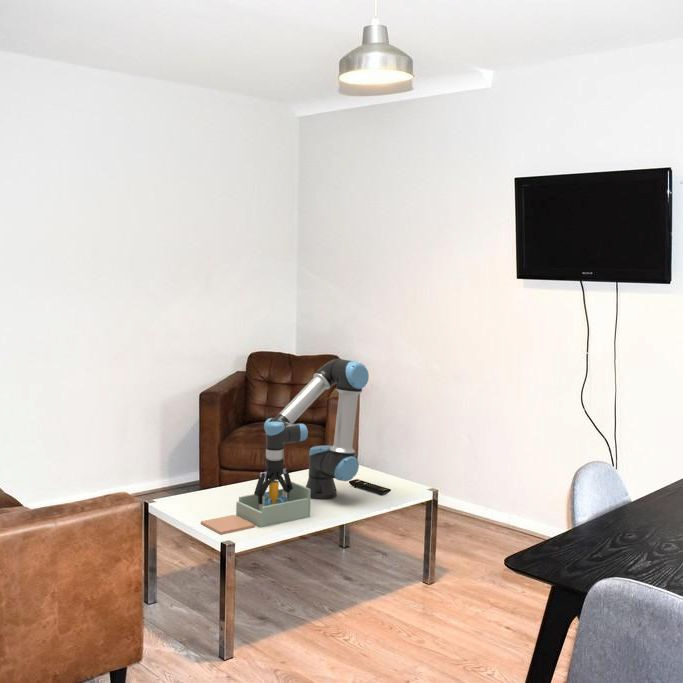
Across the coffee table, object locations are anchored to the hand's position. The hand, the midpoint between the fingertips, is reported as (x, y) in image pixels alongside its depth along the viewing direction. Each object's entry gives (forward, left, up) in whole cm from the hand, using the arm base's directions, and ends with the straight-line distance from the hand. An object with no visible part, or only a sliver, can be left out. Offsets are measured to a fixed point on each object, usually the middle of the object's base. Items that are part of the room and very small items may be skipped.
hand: (273, 508), depth 349 cm
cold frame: (0, 0, -3) cm, 3 cm away
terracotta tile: (+23, 0, -3) cm, 23 cm away
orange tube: (0, 0, -3) cm, 3 cm away
